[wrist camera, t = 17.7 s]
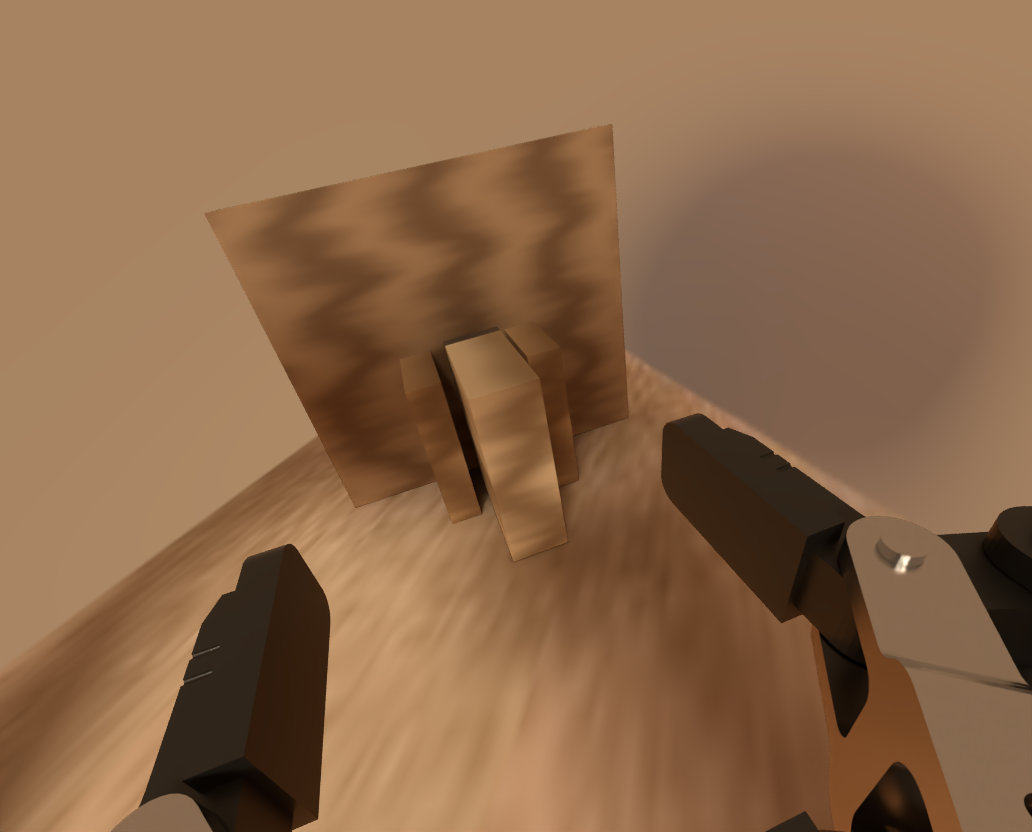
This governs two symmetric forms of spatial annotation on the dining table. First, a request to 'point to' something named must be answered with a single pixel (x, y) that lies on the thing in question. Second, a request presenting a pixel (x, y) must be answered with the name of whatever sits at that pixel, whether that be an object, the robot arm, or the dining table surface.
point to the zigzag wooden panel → (440, 303)
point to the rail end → (509, 439)
